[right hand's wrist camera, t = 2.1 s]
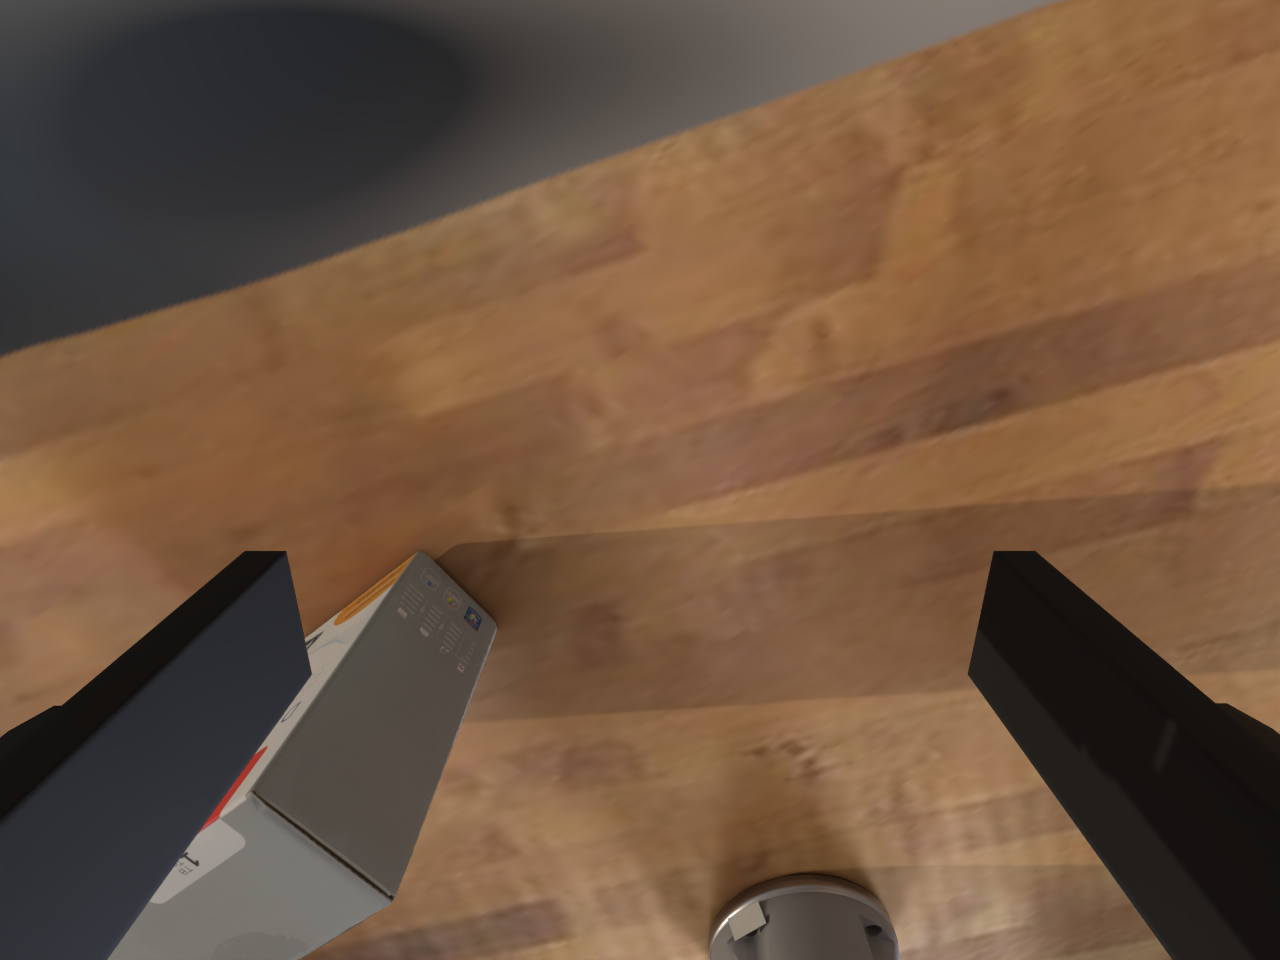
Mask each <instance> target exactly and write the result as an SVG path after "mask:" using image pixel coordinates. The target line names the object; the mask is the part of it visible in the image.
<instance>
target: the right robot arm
mask: <svg viewBox="0 0 1280 960" xmlns="http://www.w3.org/2000/svg"><path fill="white" fill-rule="evenodd" d="M311 675H312V671H311V666H310V662H309V657H308V652H307V647H306V643H305V638H304V633H303V628H302V624H301V619H300V614H299V609H298V605H297V600H296V595H295V590H294V586H293V581H292V576H291V571H290V567H289V562H288V557H287V552H286V551H244V552H243V553H242V554H241V555H240V556H239V557H237V558H236V559H235V560H234V561H233V562H231V563H230V564H229V565H228V566H227V567H225V568H224V569H223V570H222V571H221V572H220V573H218V574H217V575H216V576H215V577H214V578H212V579H211V580H210V581H209V582H208V583H207V584H205V585H204V586H203V587H202V588H201V589H199V590H198V591H197V592H196V593H195V594H193V595H192V596H191V597H190V598H189V599H188V600H186V601H185V602H184V603H183V604H182V605H180V606H179V607H178V608H177V609H176V610H175V611H173V612H172V613H171V614H170V615H169V616H167V617H166V618H165V619H164V620H163V621H162V622H160V623H159V624H158V625H157V626H156V627H154V628H153V629H152V630H151V631H150V632H148V633H147V634H146V635H145V636H144V637H143V638H141V639H140V640H139V641H138V642H137V643H135V644H134V645H133V646H132V647H131V648H130V649H128V650H127V651H126V652H125V653H124V654H122V655H121V656H120V657H119V658H118V659H117V660H115V661H114V662H113V663H112V664H111V665H109V666H108V667H107V668H106V669H105V670H103V671H102V672H101V673H100V674H99V675H98V676H96V677H95V678H94V679H93V680H92V681H90V682H89V683H88V684H87V685H86V686H85V687H83V688H82V689H81V690H80V691H79V692H77V693H76V694H75V695H74V696H73V697H71V698H70V699H69V700H68V701H67V702H66V703H64V704H63V705H62V706H53V707H51V708H49V709H47V710H46V711H44V712H42V713H40V714H38V715H37V716H35V717H33V718H31V719H29V720H28V721H26V722H24V723H22V724H20V725H19V726H17V727H15V728H13V729H11V730H10V731H8V732H7V733H6V734H4V735H3V736H2V737H1V738H0V960H107V959H108V958H109V957H110V955H111V954H112V952H113V951H114V950H115V948H116V947H117V946H118V944H119V943H120V941H121V940H122V939H123V937H124V936H125V934H126V933H127V932H128V930H129V929H130V927H131V926H132V925H133V923H134V922H135V920H136V919H137V918H138V916H139V915H140V913H141V912H142V911H143V909H144V908H145V907H146V905H147V904H148V902H149V901H150V900H151V898H152V897H153V895H154V894H155V893H156V891H157V890H158V888H159V887H160V886H161V884H162V883H163V881H164V880H165V879H166V877H167V876H168V874H169V873H170V872H171V870H172V869H173V868H174V866H175V865H176V863H177V862H178V861H179V859H180V858H181V856H182V855H183V854H184V852H185V851H186V849H187V848H188V847H189V845H190V844H191V842H192V841H193V840H194V838H195V837H196V835H197V834H198V833H199V831H200V830H201V828H202V827H203V826H204V824H205V823H206V822H207V820H208V819H209V817H210V816H211V815H212V813H213V812H214V810H215V809H216V808H217V806H218V805H219V803H220V802H221V801H222V799H223V798H224V796H225V795H226V794H227V792H228V791H229V789H230V788H231V787H232V785H233V784H234V783H235V781H236V780H237V778H238V777H239V776H240V774H241V773H242V771H243V770H244V769H245V767H246V766H247V764H248V763H249V762H250V760H251V759H252V757H253V756H254V755H255V753H256V752H257V750H258V749H259V748H260V746H261V745H262V744H263V742H264V741H265V739H266V738H267V737H268V735H269V734H270V732H271V731H272V730H273V728H274V727H275V725H276V724H277V723H278V721H279V720H280V718H281V717H282V716H283V714H284V713H285V711H286V710H287V709H288V707H289V706H290V704H291V703H292V702H293V700H294V699H295V698H296V696H297V695H298V693H299V692H300V691H301V689H302V688H303V686H304V685H305V684H306V682H307V681H308V679H309V678H310V677H311ZM968 675H969V677H970V678H971V679H972V681H973V682H974V684H975V685H976V686H977V688H978V689H979V691H980V692H981V693H982V695H983V696H984V698H985V699H986V700H987V702H988V703H989V704H990V706H991V707H992V709H993V710H994V711H995V713H996V714H997V716H998V717H999V718H1000V720H1001V721H1002V723H1003V724H1004V725H1005V727H1006V728H1007V730H1008V731H1009V732H1010V734H1011V735H1012V737H1013V738H1014V739H1015V741H1016V742H1017V744H1018V745H1019V746H1020V748H1021V749H1022V750H1023V752H1024V753H1025V755H1026V756H1027V757H1028V759H1029V760H1030V762H1031V763H1032V764H1033V766H1034V767H1035V769H1036V770H1037V771H1038V773H1039V774H1040V776H1041V777H1042V778H1043V780H1044V781H1045V783H1046V784H1047V785H1048V787H1049V788H1050V789H1051V791H1052V792H1053V794H1054V795H1055V796H1056V798H1057V799H1058V801H1059V802H1060V803H1061V805H1062V806H1063V808H1064V809H1065V810H1066V812H1067V813H1068V815H1069V816H1070V817H1071V819H1072V820H1073V822H1074V823H1075V824H1076V826H1077V827H1078V828H1079V830H1080V831H1081V833H1082V834H1083V835H1084V837H1085V838H1086V840H1087V841H1088V842H1089V844H1090V845H1091V847H1092V848H1093V849H1094V851H1095V852H1096V854H1097V855H1098V856H1099V858H1100V859H1101V861H1102V862H1103V863H1104V865H1105V866H1106V868H1107V869H1108V870H1109V872H1110V873H1111V874H1112V876H1113V877H1114V879H1115V880H1116V881H1117V883H1118V884H1119V886H1120V887H1121V888H1122V890H1123V891H1124V893H1125V894H1126V895H1127V897H1128V898H1129V900H1130V901H1131V902H1132V904H1133V905H1134V907H1135V908H1136V909H1137V911H1138V912H1139V913H1140V915H1141V916H1142V918H1143V919H1144V920H1145V922H1146V923H1147V925H1148V926H1149V927H1150V929H1151V930H1152V932H1153V933H1154V934H1155V936H1156V937H1157V939H1158V940H1159V941H1160V943H1161V944H1162V946H1163V947H1164V948H1165V950H1166V951H1167V952H1168V954H1169V955H1170V957H1171V958H1172V959H1173V960H1280V734H1278V733H1277V732H1276V731H1275V730H1274V729H1272V728H1270V727H1268V726H1267V725H1265V724H1263V723H1261V722H1259V721H1258V720H1256V719H1254V718H1252V717H1250V716H1249V715H1247V714H1245V713H1243V712H1241V711H1240V710H1238V709H1236V708H1234V707H1232V706H1231V705H1229V704H1227V703H1214V702H1213V701H1212V700H1211V699H1210V698H1209V697H1207V696H1206V695H1205V694H1204V693H1203V692H1201V691H1200V690H1199V689H1198V688H1197V687H1195V686H1194V685H1193V684H1192V683H1191V682H1190V681H1188V680H1187V679H1186V678H1185V677H1184V676H1182V675H1181V674H1180V673H1179V672H1178V671H1177V670H1175V669H1174V668H1173V667H1172V666H1171V665H1169V664H1168V663H1167V662H1166V661H1165V660H1163V659H1162V658H1161V657H1160V656H1159V655H1158V654H1156V653H1155V652H1154V651H1153V650H1152V649H1150V648H1149V647H1148V646H1147V645H1146V644H1145V643H1143V642H1142V641H1141V640H1140V639H1139V638H1137V637H1136V636H1135V635H1134V634H1133V633H1132V632H1130V631H1129V630H1128V629H1127V628H1126V627H1124V626H1123V625H1122V624H1121V623H1120V622H1118V621H1117V620H1116V619H1115V618H1114V617H1113V616H1111V615H1110V614H1109V613H1108V612H1107V611H1105V610H1104V609H1103V608H1102V607H1101V606H1100V605H1098V604H1097V603H1096V602H1095V601H1094V600H1092V599H1091V598H1090V597H1089V596H1088V595H1086V594H1085V593H1084V592H1083V591H1082V590H1081V589H1079V588H1078V587H1077V586H1076V585H1075V584H1073V583H1072V582H1071V581H1070V580H1069V579H1068V578H1066V577H1065V576H1064V575H1063V574H1062V573H1060V572H1059V571H1058V570H1057V569H1056V568H1055V567H1053V566H1052V565H1051V564H1050V563H1049V562H1047V561H1046V560H1045V559H1044V558H1043V557H1041V556H1040V555H1039V554H1038V553H1037V552H1036V551H994V552H993V557H992V562H991V567H990V571H989V576H988V581H987V586H986V590H985V595H984V600H983V605H982V609H981V614H980V619H979V624H978V628H977V633H976V638H975V643H974V647H973V652H972V657H971V662H970V666H969V671H968ZM709 956H710V960H900V953H899V948H898V942H897V937H896V934H895V931H894V928H893V926H892V923H891V920H890V917H889V915H888V913H887V911H886V909H885V908H884V906H883V905H882V904H881V902H880V901H879V900H878V899H877V898H876V897H875V896H874V895H872V894H871V893H870V892H868V891H867V890H865V889H864V888H862V887H860V886H858V885H856V884H854V883H851V882H849V881H846V880H843V879H839V878H835V877H830V876H822V875H794V876H786V877H781V878H776V879H772V880H769V881H766V882H763V883H760V884H758V885H756V886H753V887H751V888H749V889H747V890H745V891H744V892H742V893H741V894H739V895H738V896H736V897H735V898H734V899H732V900H731V901H730V902H729V903H728V904H727V905H726V906H725V907H724V908H723V909H722V910H721V911H720V913H719V914H718V915H717V917H716V919H715V920H714V922H713V925H712V927H711V930H710V934H709Z"/></svg>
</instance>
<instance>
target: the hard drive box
mask: <svg viewBox="0 0 1280 960" xmlns="http://www.w3.org/2000/svg"><path fill="white" fill-rule="evenodd" d="M496 625H497V623H496V622H495V621H494V620H493V619H492V618H491V617H490V616H489V615H488V614H487V613H486V612H485V611H484V610H483V609H482V608H481V607H480V606H479V605H478V604H477V603H476V602H475V601H474V600H473V599H472V598H471V597H470V596H469V595H468V594H467V593H466V592H465V591H464V590H463V589H462V588H461V587H460V586H459V585H457V584H456V583H455V582H454V581H453V580H452V579H451V578H450V577H449V576H448V575H447V574H446V573H445V572H444V571H443V570H442V569H441V568H440V567H439V566H438V565H437V564H436V563H435V562H434V561H433V560H432V559H431V558H430V557H429V556H428V555H427V554H426V553H425V552H423V551H418V552H417V553H415V554H414V555H413V556H411V557H410V558H409V559H407V560H406V561H405V562H403V563H402V564H401V565H400V566H398V567H397V568H396V569H395V570H393V571H392V572H390V573H389V574H388V575H386V576H385V577H384V578H382V579H381V580H380V581H379V582H377V583H376V584H375V585H374V586H372V587H371V588H370V589H368V590H367V591H366V592H365V593H363V594H362V595H361V596H359V597H358V598H357V599H356V600H354V601H353V602H352V603H350V604H349V605H348V606H347V607H345V608H344V609H343V610H341V611H340V612H339V613H337V614H336V615H335V616H333V617H332V618H331V619H330V620H328V621H327V622H326V623H324V624H323V625H322V626H320V627H319V628H318V629H317V630H315V631H314V632H313V633H311V634H310V635H308V636H307V637H306V638H305V643H306V647H307V652H308V657H309V662H310V666H311V671H312V675H311V677H310V678H309V679H308V681H307V682H306V684H305V685H304V686H303V688H302V689H301V691H300V692H299V693H298V695H297V696H296V698H295V699H294V700H293V702H292V703H291V704H290V706H289V707H288V709H287V710H286V711H285V713H284V714H283V716H282V717H281V718H280V720H279V721H278V723H277V724H276V725H275V727H274V728H273V730H272V731H271V732H270V734H269V735H268V737H267V738H266V739H265V741H264V742H263V744H262V745H261V746H260V748H259V749H258V750H257V752H256V753H255V755H254V756H253V757H252V759H251V760H250V762H249V763H248V764H247V766H246V767H245V769H244V770H243V771H242V773H241V774H240V776H239V777H238V778H237V780H236V781H235V783H234V784H233V785H232V787H231V788H230V789H229V791H228V792H227V794H226V795H225V796H224V798H223V799H222V801H221V802H220V803H219V805H218V806H217V808H216V809H215V810H214V812H213V813H212V815H211V816H210V817H209V819H208V820H207V822H206V823H205V824H204V826H203V827H202V828H201V830H200V831H199V833H198V834H197V835H196V837H195V838H194V840H193V841H192V842H191V844H190V845H189V847H188V848H187V849H186V851H185V852H184V854H183V855H182V856H181V858H180V859H179V861H178V862H177V863H176V865H175V866H174V868H173V869H172V870H171V872H170V873H169V874H168V876H167V877H166V879H165V880H164V881H163V883H162V884H161V886H160V887H159V888H158V890H157V891H156V893H155V894H154V895H153V897H152V898H151V900H150V901H149V902H148V904H147V905H146V907H145V908H144V909H143V911H142V912H141V913H140V915H139V916H138V918H137V919H136V920H135V922H134V923H133V925H132V926H131V927H130V929H129V930H128V932H127V933H126V934H125V936H124V937H123V939H122V940H121V941H120V943H119V944H118V946H117V947H116V948H115V950H114V951H113V952H112V954H111V955H110V957H109V958H108V959H107V960H300V959H302V958H303V957H305V956H307V955H308V954H310V953H311V952H313V951H315V950H316V949H318V948H319V947H321V946H323V945H325V944H326V943H328V942H330V941H331V940H333V939H335V938H336V937H338V936H340V935H341V934H343V933H344V932H346V931H348V930H349V929H351V928H353V927H354V926H356V925H357V924H359V923H361V922H362V921H364V920H365V919H367V918H368V917H370V916H372V915H373V914H375V913H376V912H378V911H379V910H381V909H383V908H384V907H386V906H387V905H389V904H390V903H392V901H393V899H394V897H395V895H396V894H397V891H398V888H399V886H400V883H401V881H402V878H403V876H404V873H405V871H406V868H407V866H408V863H409V860H410V858H411V856H412V854H413V849H414V847H415V844H416V842H417V840H418V836H419V834H420V831H421V828H422V826H423V823H424V820H425V818H426V815H427V812H428V810H429V807H430V805H431V802H432V799H433V797H434V794H435V791H436V789H437V786H438V783H439V781H440V778H441V776H442V773H443V770H444V768H445V765H446V763H447V760H448V758H449V755H450V752H451V750H452V747H453V745H454V742H455V740H456V737H457V734H458V732H459V729H460V726H461V724H462V721H463V719H464V716H465V713H466V711H467V708H468V706H469V703H470V700H471V698H472V695H473V693H474V690H475V687H476V685H477V682H478V680H479V677H480V674H481V672H482V669H483V667H484V664H485V661H486V659H487V656H488V654H489V651H490V648H491V646H492V643H493V641H494V638H495V635H496V633H497V629H498V628H497V627H496Z"/></svg>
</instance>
